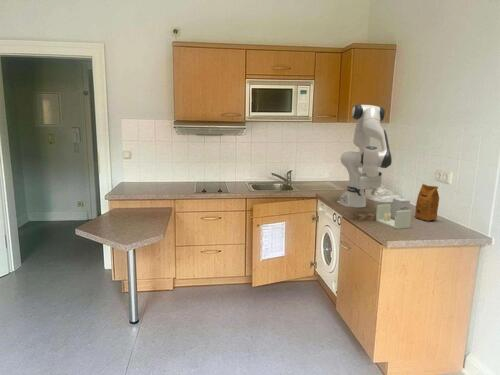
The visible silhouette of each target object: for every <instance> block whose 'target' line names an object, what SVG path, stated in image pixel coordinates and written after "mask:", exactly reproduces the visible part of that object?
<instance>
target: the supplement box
mask: <svg viewBox="0 0 500 375" xmlns="http://www.w3.org/2000/svg"><path fill="white" fill-rule="evenodd" d="M410 203H411V200H410V199H406V198H392V204H391V219H393V220H395V217H396V211H407V210H410V205H411V204H410Z"/></svg>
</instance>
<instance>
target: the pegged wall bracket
mask: <svg viewBox="0 0 500 375" xmlns="http://www.w3.org/2000/svg"><path fill="white" fill-rule="evenodd" d="M375 211H376V212H375V214H376V219H375V220H376V222H378V223H380V224H383V225H385V226H388V227H391V228H393V229H396V230H398V229H399V230H401V229H409V228H411V220H412V210H410V209H409V210H407V211H396V217H395V219H393V218H391V213H392V204H390V203H389V204H377V205H376V210H375ZM375 220H374V221H375Z"/></svg>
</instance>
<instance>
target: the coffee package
mask: <svg viewBox="0 0 500 375" xmlns="http://www.w3.org/2000/svg"><path fill="white" fill-rule="evenodd" d="M438 189H439V187H438V186H437V185H427V184H425V183H422V185H421V188H420V190H419V193H418V195H417V198H416V203H415V213H414V218H415V219H420V220H422V221H430V222H431V221H434V220H437V219H438V210H439V205H440V204H439V203H440V195H439V191H438Z"/></svg>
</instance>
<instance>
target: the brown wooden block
mask: <svg viewBox="0 0 500 375" xmlns="http://www.w3.org/2000/svg"><path fill="white" fill-rule="evenodd" d="M353 218H354V219H355V220H356V221H375V219H376V213H354V214H353Z"/></svg>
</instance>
